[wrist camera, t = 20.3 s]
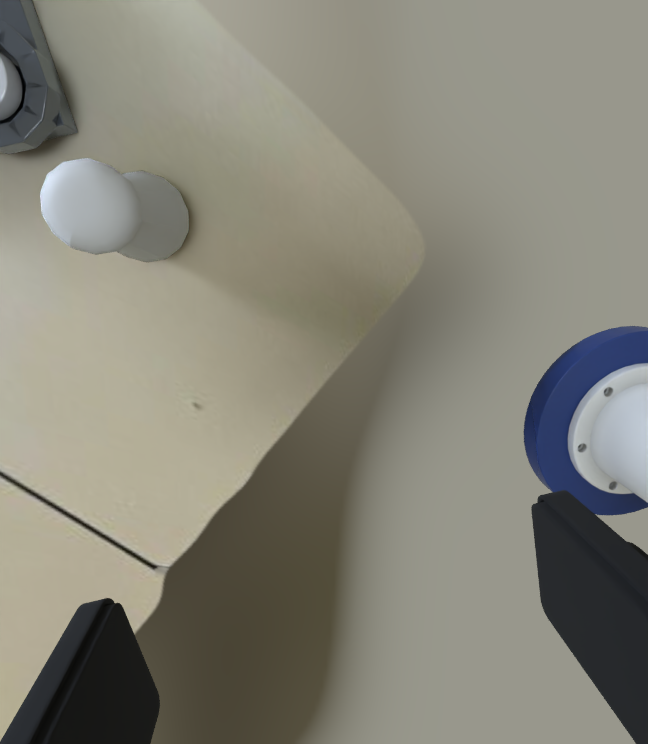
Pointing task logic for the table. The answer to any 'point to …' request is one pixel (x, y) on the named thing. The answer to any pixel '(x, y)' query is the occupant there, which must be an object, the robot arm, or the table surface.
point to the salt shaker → (114, 210)
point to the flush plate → (31, 82)
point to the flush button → (9, 87)
